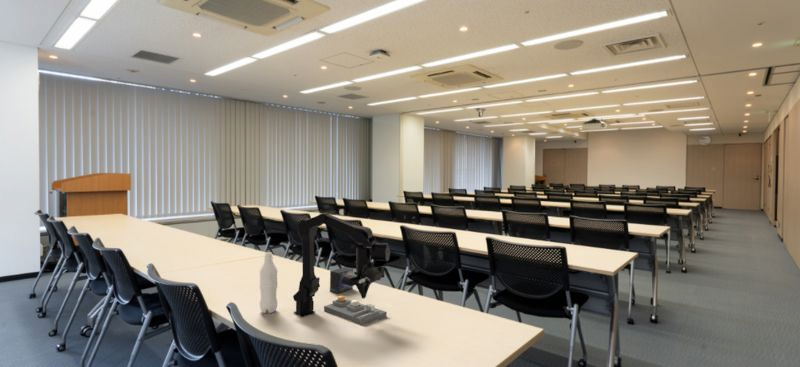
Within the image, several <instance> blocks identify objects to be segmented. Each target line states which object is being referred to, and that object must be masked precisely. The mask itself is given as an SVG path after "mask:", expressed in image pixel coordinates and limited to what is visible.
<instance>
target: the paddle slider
mask: <svg viewBox="0 0 800 367" xmlns="http://www.w3.org/2000/svg"><path fill="white" fill-rule="evenodd" d="M365 305H366V312H367V313H371V312H374V311H375V308H376V307H375V305H374V304H371V303H367V304H365Z"/></svg>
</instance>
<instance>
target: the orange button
mask: <svg viewBox="0 0 800 367" xmlns="http://www.w3.org/2000/svg"><path fill="white" fill-rule="evenodd" d="M336 298H337V299H336V300H337V302H340V303H342V302H345V299H346V296H345V295H338V296H337V297H336Z"/></svg>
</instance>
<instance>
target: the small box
mask: <svg viewBox="0 0 800 367" xmlns="http://www.w3.org/2000/svg"><path fill="white" fill-rule="evenodd" d="M329 272H330V274H329V275H330V276H329V280H330V281H329V292H332V293H335V294H342V293H345V292H347V291H351V290H353V288H354V286H349V285H345V284H342V283H341V282H342V277H343V276H347V275H353V276H354V269H353V268H349V267H340V268H336V269H332V270H330V271H329Z"/></svg>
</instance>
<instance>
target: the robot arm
mask: <svg viewBox="0 0 800 367" xmlns="http://www.w3.org/2000/svg"><path fill="white" fill-rule="evenodd" d="M323 225H326V226H329V227H331V228H332V229H335V230H338V231H340V232H343V233H344V234H346V235H348V236H349V237H350V238H351V239H352V240H353V241H355V242H354V244H353V245H351V249H356V261H353V262H354V263H353V264H354V265H356V271H353V275H347V276H343V277H342V282H341V283H342V284H345V285H349V286H353V287H354V286H356V287H355V288H356V289H357V291H358V292H359V294H360V296H361V298H362V299H366V297H367V295H368V294H367V293H368V291H369V288H370V287H371V286H370V285H372V283H374V282H377V281H380V280H381V279H383V278H385V267H384V266H382V265H381V266H374V261H381V262H389V260H390V256H391V250H390V246H389V243H387V242H386V243H379V242H378V240H377V239H376V238H375V235H374V234H373V230H372V229H371V228H370V227H367V226H364V225H358V224H352V223H351V222H348V221H346V220H343V219H341V218H338V217H336V216H334V215H332V214H330V213H329V212H321V213H319V214H318V215H317V216H314V217H311V218H309V217H308V218H305V219H301V220H300V221H299V222H298V223H297V231H298V232H297V233H298V236H299V237H300V240H301V253H302V255H301V258H302V261H301V262H302V276H301V278H300V281H299V285H298V291H296V293H294V295H293V296H292V299H293V301H294V302H295V311H293V313H294V315H297V316H299V317H303V318H304V317H307V316H309V315H313V314H315V313H316V311H315V310H314V306H315V305H314V298H313V297H315V295H316V293H317V292H318V291H319V288H320V287H321V286H320V280H321V279H320V277H317V276H316V273H315V238H316V235H317V233H318V228H319V227H320V226H323ZM372 260H373V261H372Z"/></svg>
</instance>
